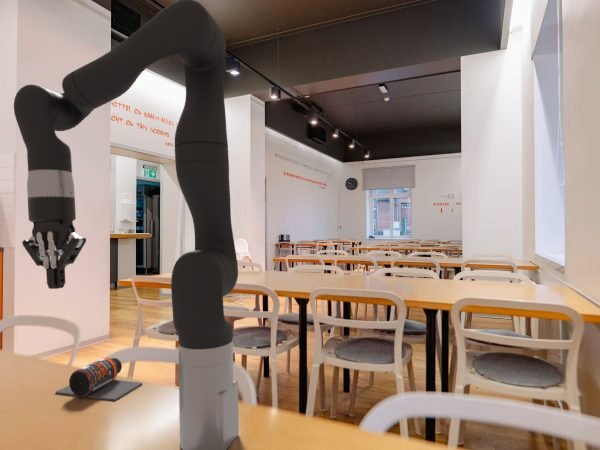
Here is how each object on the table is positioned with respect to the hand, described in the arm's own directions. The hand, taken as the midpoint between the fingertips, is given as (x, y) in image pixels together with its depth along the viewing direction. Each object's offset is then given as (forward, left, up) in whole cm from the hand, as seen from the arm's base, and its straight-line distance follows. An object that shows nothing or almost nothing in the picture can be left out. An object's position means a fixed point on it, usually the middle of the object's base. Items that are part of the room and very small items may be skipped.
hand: (56, 288), depth 74 cm
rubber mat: (+5, -16, -26) cm, 31 cm away
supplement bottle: (+5, -10, -23) cm, 25 cm away
